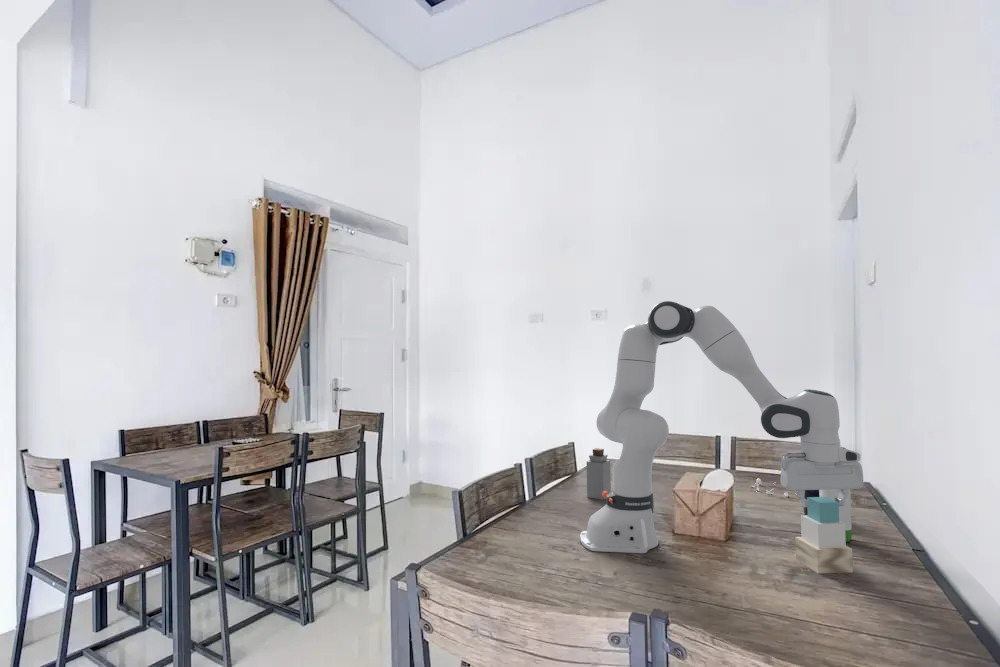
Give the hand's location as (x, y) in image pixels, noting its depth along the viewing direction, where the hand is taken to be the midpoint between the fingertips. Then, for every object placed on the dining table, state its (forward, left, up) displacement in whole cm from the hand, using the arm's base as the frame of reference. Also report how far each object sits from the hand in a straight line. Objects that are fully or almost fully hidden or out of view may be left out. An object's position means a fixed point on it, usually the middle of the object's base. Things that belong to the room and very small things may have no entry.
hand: (822, 506), depth 135 cm
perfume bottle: (-43, +67, -15) cm, 81 cm away
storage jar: (+23, +35, -15) cm, 45 cm away
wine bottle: (+16, +18, -15) cm, 29 cm away
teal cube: (0, 0, -3) cm, 3 cm away
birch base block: (0, 0, -15) cm, 15 cm away
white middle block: (0, 0, -9) cm, 9 cm away
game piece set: (+29, +69, -16) cm, 77 cm away
